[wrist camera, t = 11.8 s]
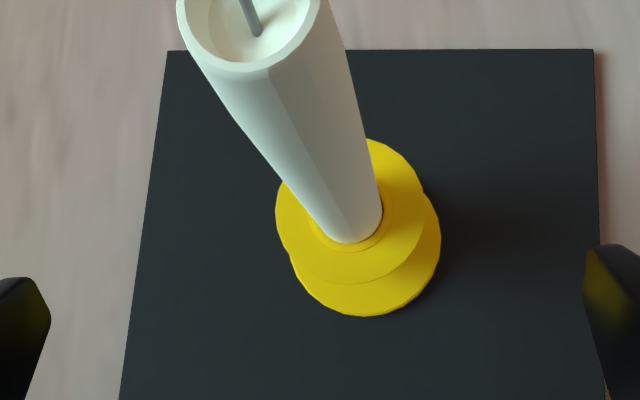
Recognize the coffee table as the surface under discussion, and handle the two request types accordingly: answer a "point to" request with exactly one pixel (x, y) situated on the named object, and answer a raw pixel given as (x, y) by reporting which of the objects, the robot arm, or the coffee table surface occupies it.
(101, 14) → the coffee table surface
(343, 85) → the candle
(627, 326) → the robot arm
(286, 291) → the mat
